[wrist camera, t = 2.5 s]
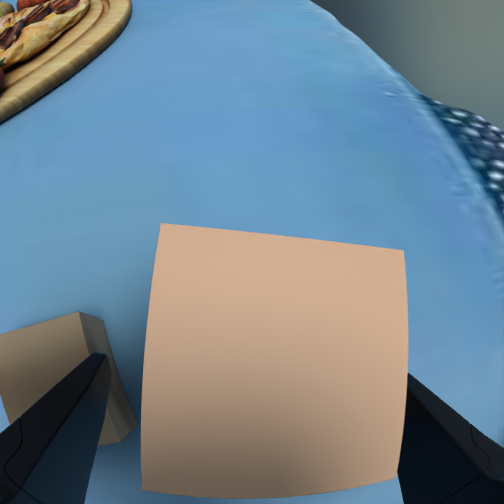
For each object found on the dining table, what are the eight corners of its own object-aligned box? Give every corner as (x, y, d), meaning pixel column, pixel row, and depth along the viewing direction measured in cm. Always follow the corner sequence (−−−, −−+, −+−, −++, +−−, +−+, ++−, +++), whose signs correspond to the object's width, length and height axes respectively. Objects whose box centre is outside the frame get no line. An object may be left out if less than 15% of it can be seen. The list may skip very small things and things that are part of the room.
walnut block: (138, 423, 15) (120, 441, 11) (51, 438, 13) (21, 453, 9) (103, 320, 16) (78, 311, 13) (22, 342, 15) (-13, 338, 11)
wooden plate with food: (88, 122, 21) (62, 43, 13) (-100, 169, 15) (-130, 135, 8) (154, -14, 31) (154, -56, 23) (-6, 25, 26) (-16, -6, 18)
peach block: (272, 400, 16) (395, 477, 4) (185, 395, 16) (142, 489, 4) (277, 317, 18) (403, 250, 6) (191, 310, 17) (161, 223, 5)
